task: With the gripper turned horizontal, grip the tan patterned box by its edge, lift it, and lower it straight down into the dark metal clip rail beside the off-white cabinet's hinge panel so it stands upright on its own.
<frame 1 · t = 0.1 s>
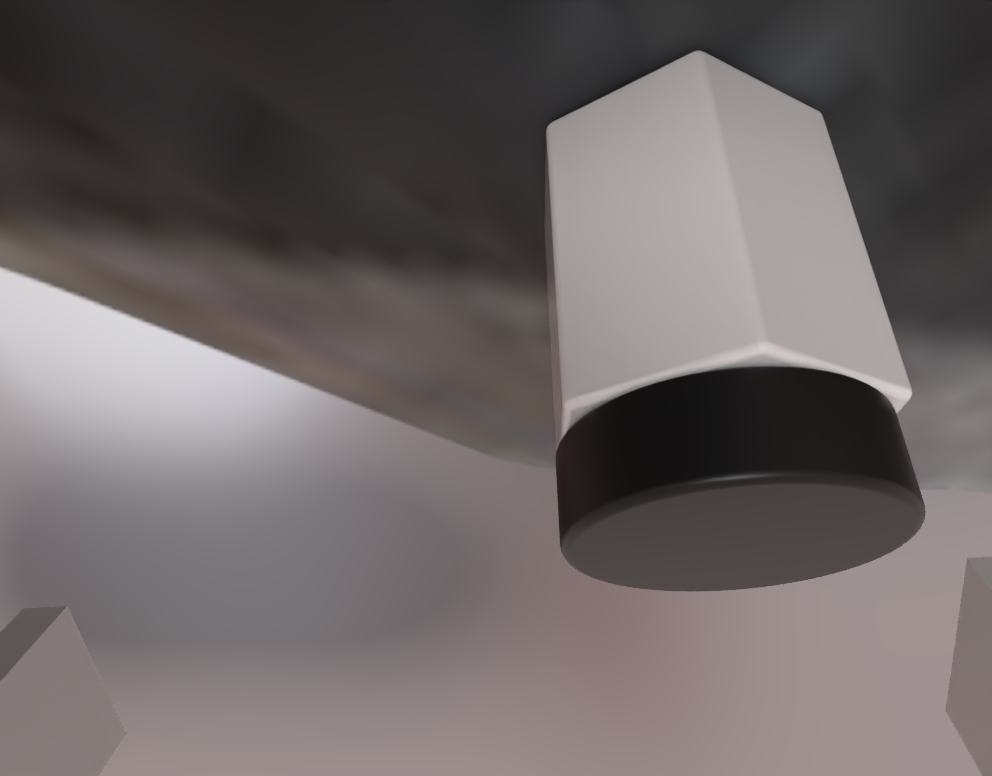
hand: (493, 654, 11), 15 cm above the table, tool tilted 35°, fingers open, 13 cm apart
jar: (670, 168, 24), on the table
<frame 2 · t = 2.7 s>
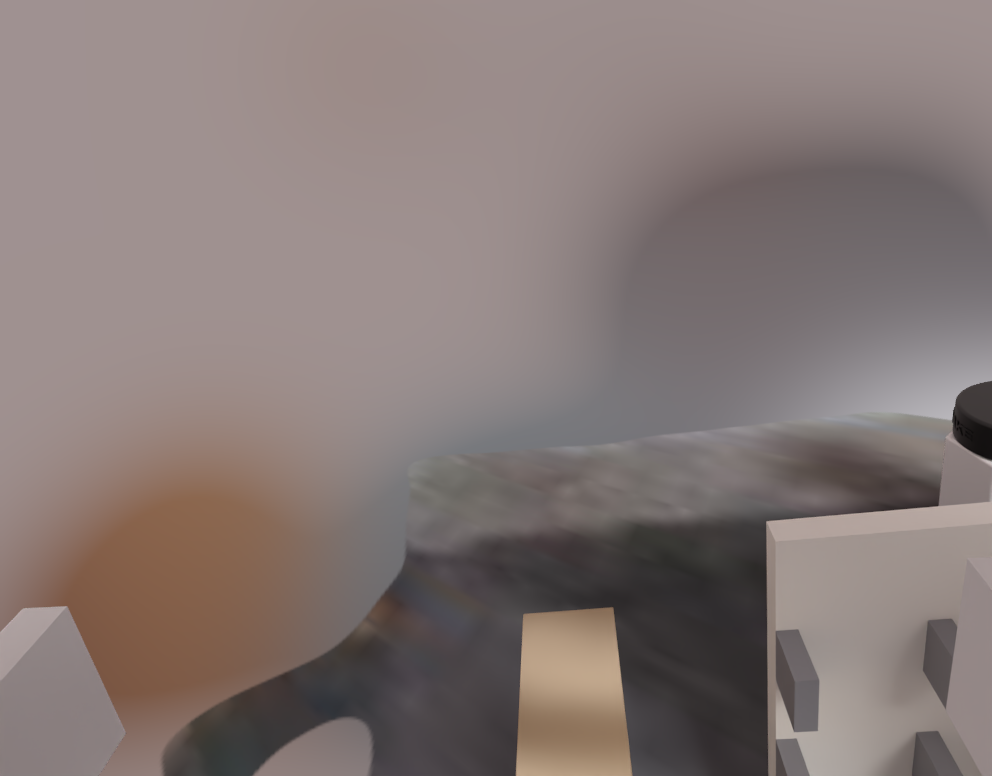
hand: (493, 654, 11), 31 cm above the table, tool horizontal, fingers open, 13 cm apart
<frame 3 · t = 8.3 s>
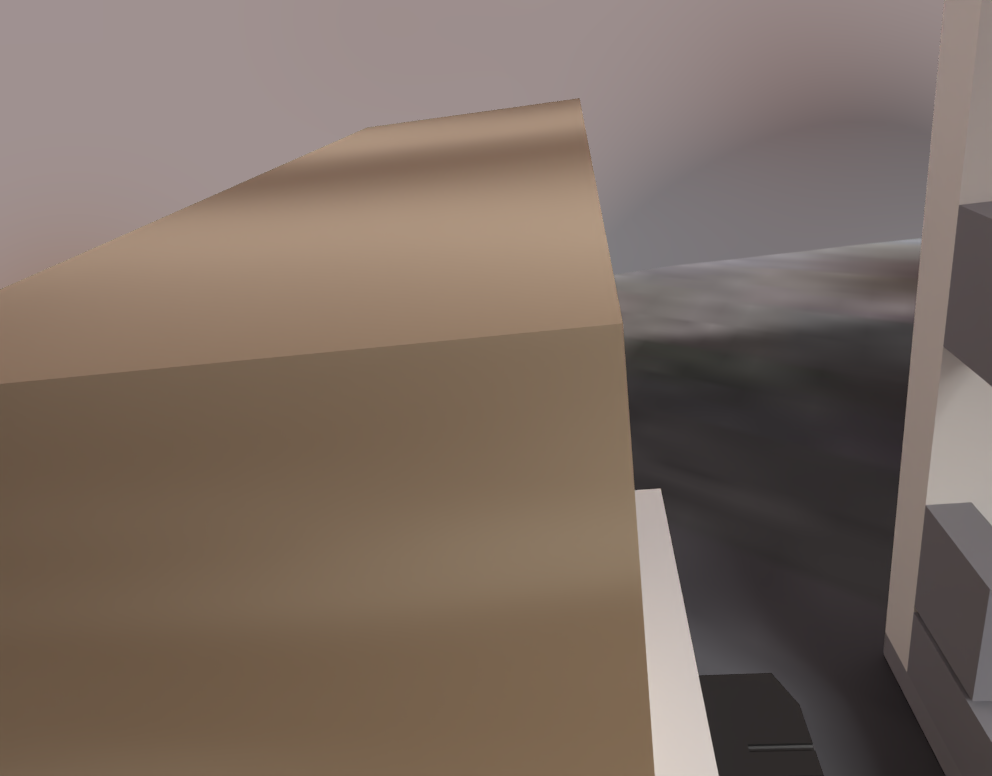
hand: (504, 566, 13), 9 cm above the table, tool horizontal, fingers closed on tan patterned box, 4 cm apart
when the fingers open (11 cm above the table, at t = 14.4 s): tan patterned box drops 1 cm, resting on cabinet.
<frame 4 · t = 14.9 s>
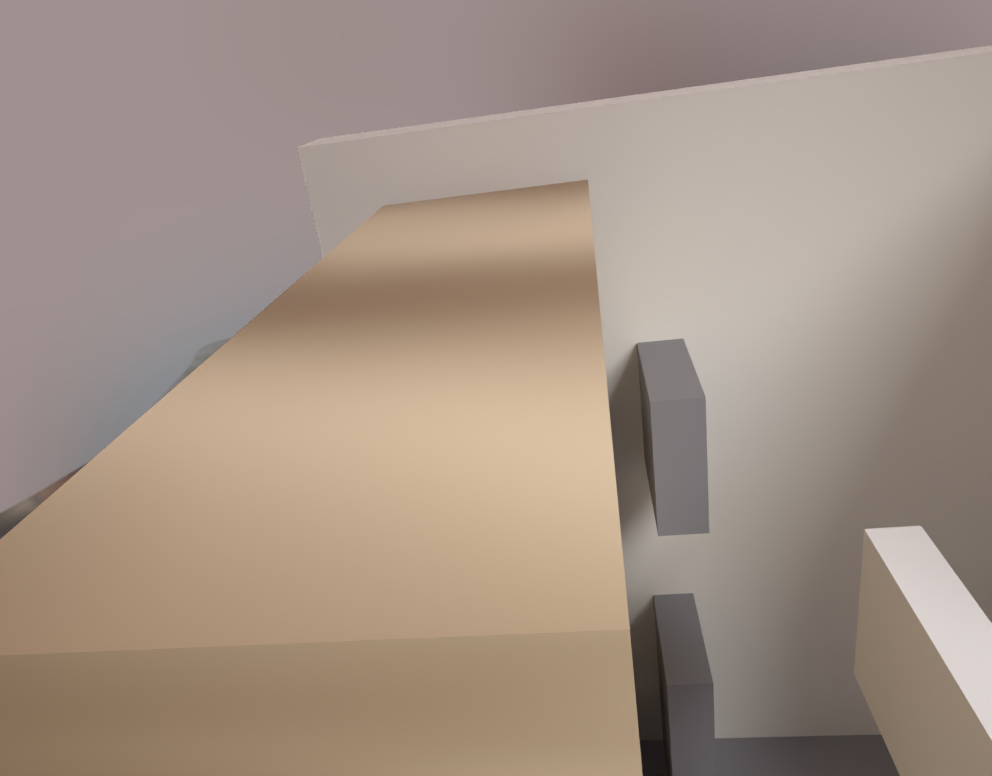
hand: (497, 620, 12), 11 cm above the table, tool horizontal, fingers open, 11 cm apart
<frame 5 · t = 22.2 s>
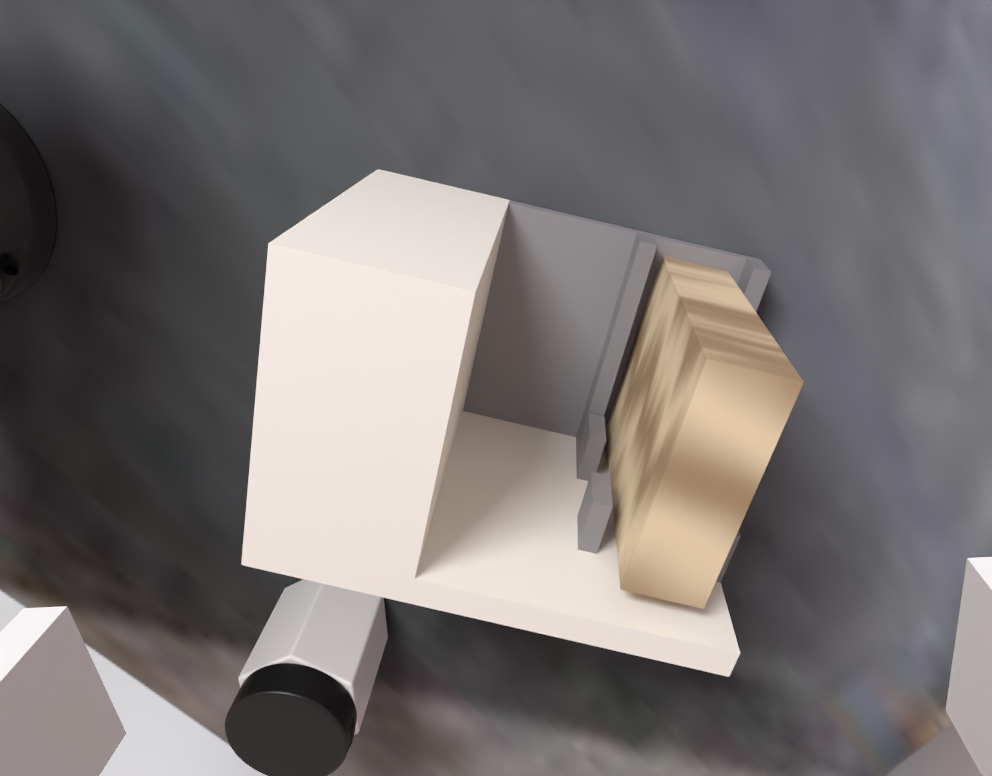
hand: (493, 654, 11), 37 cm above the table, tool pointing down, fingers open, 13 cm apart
tan patterned box: (663, 354, 47), point 1 cm above the table, touching cabinet
cabinet: (662, 350, 48), on the table
jar: (338, 609, 60), on the table
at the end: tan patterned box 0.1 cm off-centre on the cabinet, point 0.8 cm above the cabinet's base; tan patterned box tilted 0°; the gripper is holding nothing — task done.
